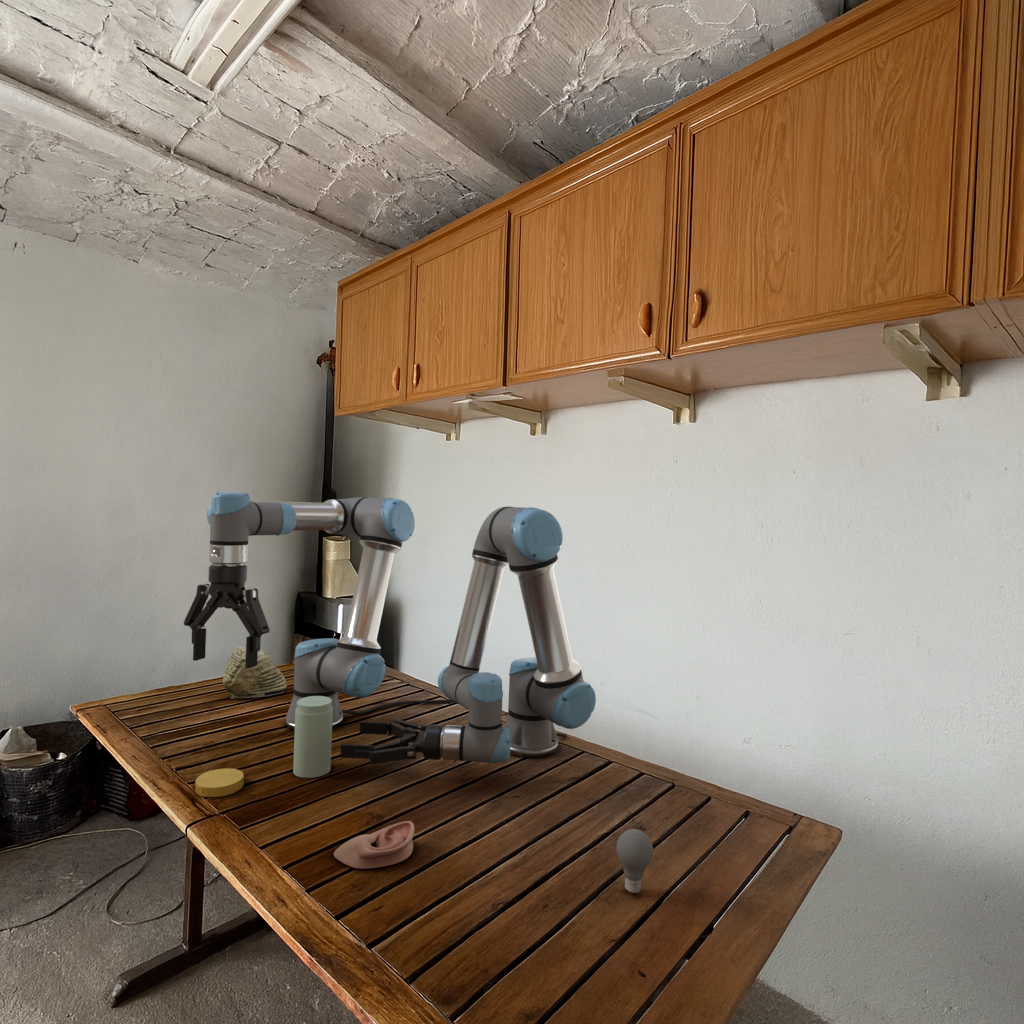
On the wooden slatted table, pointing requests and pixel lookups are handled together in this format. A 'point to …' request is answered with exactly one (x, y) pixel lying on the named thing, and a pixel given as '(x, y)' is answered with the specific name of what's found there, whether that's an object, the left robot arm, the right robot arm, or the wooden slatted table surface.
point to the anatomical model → (378, 847)
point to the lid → (219, 782)
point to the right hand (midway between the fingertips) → (350, 738)
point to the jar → (313, 736)
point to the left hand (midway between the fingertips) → (224, 663)
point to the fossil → (252, 676)
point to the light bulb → (634, 857)
